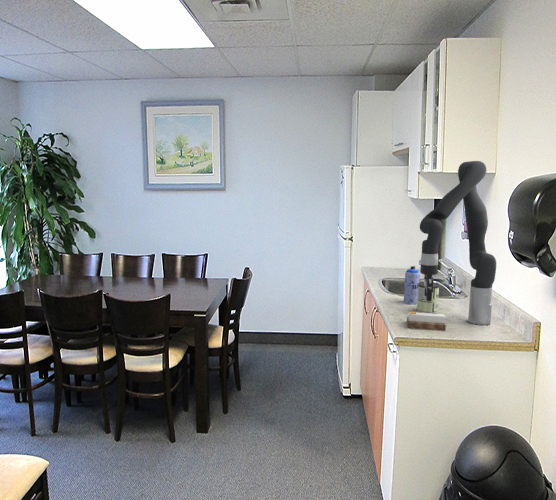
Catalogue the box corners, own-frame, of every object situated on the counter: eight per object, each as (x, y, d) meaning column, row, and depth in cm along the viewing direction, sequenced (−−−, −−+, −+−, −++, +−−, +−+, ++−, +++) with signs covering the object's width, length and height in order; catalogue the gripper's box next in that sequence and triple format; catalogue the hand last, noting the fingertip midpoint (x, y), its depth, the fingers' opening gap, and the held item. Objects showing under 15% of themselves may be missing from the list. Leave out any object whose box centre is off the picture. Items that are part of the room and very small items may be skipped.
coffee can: (416, 307, 251) (417, 281, 249) (437, 309, 248) (438, 282, 246) (416, 312, 241) (418, 285, 239) (438, 314, 238) (439, 286, 236)
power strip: (444, 325, 220) (444, 313, 219) (445, 327, 216) (445, 315, 215) (407, 322, 223) (408, 310, 222) (408, 325, 219) (409, 313, 219)
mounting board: (442, 324, 223) (442, 318, 223) (445, 330, 214) (445, 325, 213) (406, 321, 226) (407, 316, 226) (408, 328, 217) (408, 322, 216)
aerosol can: (409, 305, 255) (411, 268, 252) (400, 301, 262) (402, 265, 259) (421, 303, 258) (423, 267, 255) (411, 300, 266) (413, 264, 262)
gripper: (440, 266, 208) (438, 302, 210) (436, 260, 221) (434, 294, 224) (422, 265, 209) (420, 302, 212) (419, 260, 223) (417, 294, 225)
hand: (427, 298), depth 218 cm, fingers open, 8 cm apart
